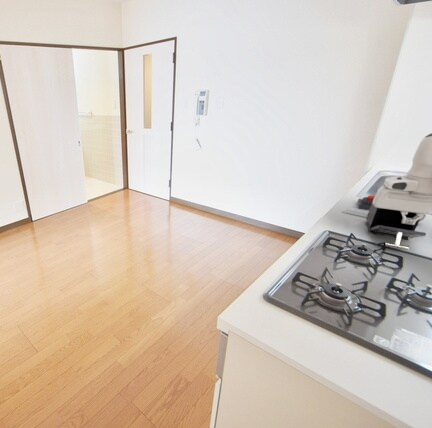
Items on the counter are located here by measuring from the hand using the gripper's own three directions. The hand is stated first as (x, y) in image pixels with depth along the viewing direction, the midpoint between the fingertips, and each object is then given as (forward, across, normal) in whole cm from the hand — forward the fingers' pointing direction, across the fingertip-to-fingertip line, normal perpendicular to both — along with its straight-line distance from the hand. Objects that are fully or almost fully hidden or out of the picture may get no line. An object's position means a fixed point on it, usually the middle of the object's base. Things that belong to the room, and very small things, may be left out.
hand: (407, 223), depth 93 cm
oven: (+11, +1, -18) cm, 22 cm away
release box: (+11, +4, -43) cm, 45 cm away
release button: (+7, +4, -43) cm, 44 cm away
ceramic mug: (+12, -5, -31) cm, 34 cm away
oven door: (+11, +1, -10) cm, 15 cm away
